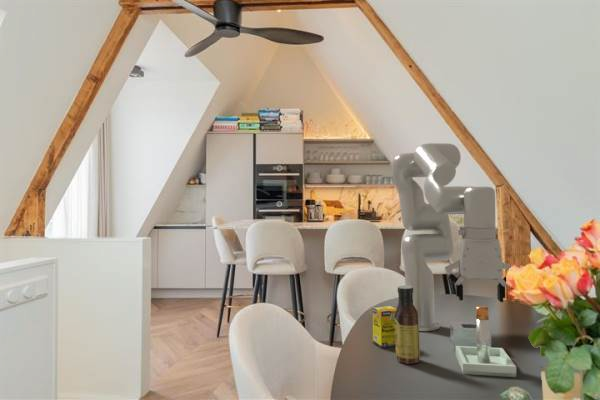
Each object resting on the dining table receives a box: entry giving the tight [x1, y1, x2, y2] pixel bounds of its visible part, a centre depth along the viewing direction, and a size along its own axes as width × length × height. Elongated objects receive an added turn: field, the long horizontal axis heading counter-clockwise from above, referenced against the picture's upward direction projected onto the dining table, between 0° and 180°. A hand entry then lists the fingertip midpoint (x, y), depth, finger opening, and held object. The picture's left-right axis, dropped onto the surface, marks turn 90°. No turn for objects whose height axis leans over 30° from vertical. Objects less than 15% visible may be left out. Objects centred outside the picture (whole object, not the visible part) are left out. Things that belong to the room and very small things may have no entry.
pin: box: [475, 305, 490, 364], centre depth 112 cm, size 3×3×14 cm
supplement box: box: [372, 305, 397, 349], centre depth 130 cm, size 6×6×11 cm
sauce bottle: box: [395, 285, 421, 365], centre depth 116 cm, size 7×6×20 cm
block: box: [449, 321, 492, 351], centre depth 126 cm, size 10×8×6 cm
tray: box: [455, 346, 517, 378], centre depth 111 cm, size 12×14×2 cm
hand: (480, 300), depth 112 cm, fingers open, 9 cm apart
